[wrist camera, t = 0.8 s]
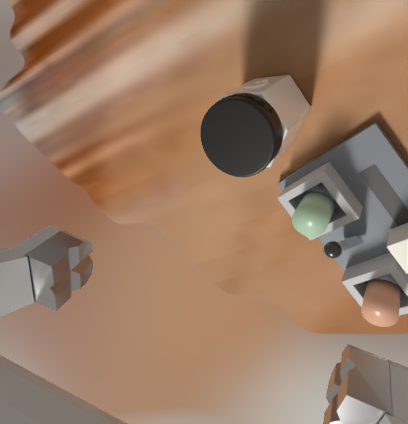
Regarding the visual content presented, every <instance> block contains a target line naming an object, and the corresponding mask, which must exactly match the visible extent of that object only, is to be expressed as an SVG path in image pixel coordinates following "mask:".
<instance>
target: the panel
mask: <svg viewBox="0 0 408 424" xmlns="http://www.w3.org/2000/svg"><path fill="white" fill-rule="evenodd" d="M277 185H278V186H279V187H280V189H281V190H282V192H281V194H280V195H279V197H278V200H279V201H280V202H281V204H282V205H283V206H284V208H285V209H286V210H287V211H288V213H289V214H290V215H291V217H292V216H293V214H294V212H295V210H296V209H297V207H298V205H299V204H300V202H301V200H302V199H303V197H304V196H305V195H306V194H307V193H309V192H313V191H319V192H323V193H325V194H327V195H328V196H329V197H330V198H331V199H332V200H333V202H334V212H333V215H332V217H331V219H330V222H329V224H328V226H327V229H326V230H325V232H324V233H323V234H321V235H319V236H316V237H308V236H307V237H308V239H309V240H312V239H315V238H317V237H318V238H319V239H320V241H321V242H322V243H323V245H324V246H325V245H326V244H327V243H328V242H330V241H336V242H339V241H341V240H344V239H347V238H350V237H352V236H355V235H358V234H360V236H361V238H362V240H363V242H364V243H362V244H359V245H357V246H355V247H352V248H350V249H348V250H345V251H343V252H342V253H341V255H340V256H339V257H337V258H334V259H335V260H336V262H337V263H338V264H339V266H340V267H341V268H342V269H343V271H344V276H343V279H342V283H343V284H344V285H345V287H346V288H347V289H348V291H349V292H350V293H351V294H352V296H353V297H354V298H355V300H356V301H357V302H358V304H359V305H360V306H361V307H362V304H363V299H364V294H365V289H366V286H367V284H368V283H369V282H371V281H373V280H377V279H383V280H388V281H390V282H392V283H394V284H395V285H396V286H397V287H398V288H399V289H400V292H401V298H400V309H399V315H403V314H407V313H408V273H407V274H406V272H405V271H404V270H403V268H402V267H401V266H400V264H399V263H398V262H397V260H396V259H395V258H394V256H393V255H392V254H391V252H390V251H389V250H388V248H387V240H388V234H389V230H390V229H393V228H395V227H398V226H400V225H403V224H405V223H408V165H407V163H406V162H405V160H404V159H403V158H402V156H401V155H400V153H399V152H398V151H397V149H396V148H395V147H394V145H393V144H392V142H391V141H390V140H389V138H388V137H387V135H386V134H385V133H384V131H383V130H382V128H381V127H380V126H379V124H378V123H377V121H375V122H374V123H372V124H371V125H369V126H367V127H366V128H364V129H362V130H361V131H359V132H358V133H356V134H354V135H353V136H351V137H350V138H348V139H346V140H345V141H343V142H342V143H340V144H338V145H337V146H335V147H334V148H332V149H330V150H329V151H327V152H326V153H324V154H322V155H321V156H319V157H318V158H316V159H314V160H313V161H311V162H309V163H308V164H306V165H305V166H303V167H301V168H300V169H298V170H297V171H295V172H293V173H292V174H290V175H289V176H287V177H285V178H284V179H282V180H281V181H279V182H278V184H277Z"/></svg>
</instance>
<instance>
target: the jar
mask: <svg viewBox="0 0 408 424" xmlns="http://www.w3.org/2000/svg"><path fill="white" fill-rule="evenodd" d="M310 108H311V107H310V105H309V103H308V102H307V100H306V99H305V97H304V96H303V94H302V93H301V91H300V90H299V88H298V87H297V85H296V83H295V82H294V80H293V79H292V77H291V76H290V75H282V76H273V77H265V78H256V79H253V80H251V81H249V82H247V83H245V84H243V85H241V86H239V87H237V88H235V89H233V90H232V91H230V92H228V93H226V94H224V95H222V96H221V98H220V100H219V101H218V102H216V103H215V104H214V105H213V106H212V107H211V108H210V109H209V110H208V111H207V113H206V114H205V116H204V118H203V121H202V125H201V141H202V145H203V148H204V151H205V153H206V155H207V156H208V158H209V159H210V161H211V162H212V163H213V164H214V165H215V166H216V167H217V168H218V169H220V170H221V171H223V172H225V173H227V174H229V175H232V176H236V177H249V176H253V175H255V174H258V173H259V172H261V171H262V170H264V169H265V168H266V167H270V166H271V165H272V164H273V163H274V162H275V161H276V160H277V159H278V157H279V156H280V155H281V154H282V153H283V152H284V151H285V150H286V148H287V147H288V146H289V145H290V144H291V143H292V142H293V141H294V139H295V138H296V136H297V134H298V132H299V130H300V128H301V126H302V124H303V122H304V120H305V118H306V116H307V114H308V112H309V110H310Z"/></svg>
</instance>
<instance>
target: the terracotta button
mask: <svg viewBox="0 0 408 424" xmlns="http://www.w3.org/2000/svg"><path fill="white" fill-rule="evenodd" d="M400 298H401V292H400V289H399V288H398V287H397V286H396V285H395V284H394V283H392V282H390V281H388V280H383V279H377V280H373V281H371V282H369V283H368V284H367V286H366V289H365V294H364V299H363V304H362V308H361V312H362V315H363V317H364V318H365V319H366V320H367V321H368V322H370V323H372V324H374V325H376V326H381V327H388V326H392V325H394V324H395V323H396V322H397V321H398V319H399V309H400Z"/></svg>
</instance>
